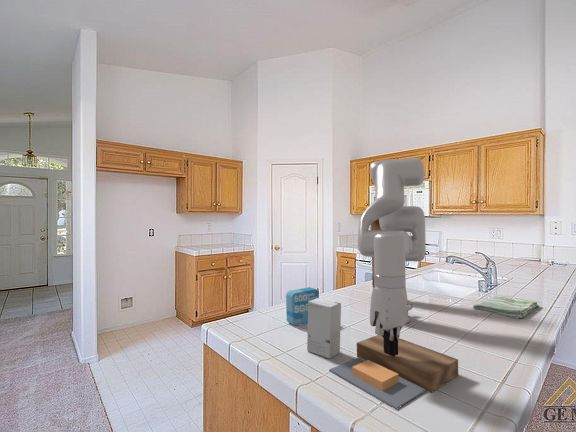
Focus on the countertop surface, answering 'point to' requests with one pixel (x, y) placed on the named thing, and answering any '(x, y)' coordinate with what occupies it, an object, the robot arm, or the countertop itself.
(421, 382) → the brown wooden block
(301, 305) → the data package
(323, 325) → the skincare box
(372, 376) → the tan foam pad
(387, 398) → the mat
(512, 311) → the dish towel
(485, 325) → the countertop surface
